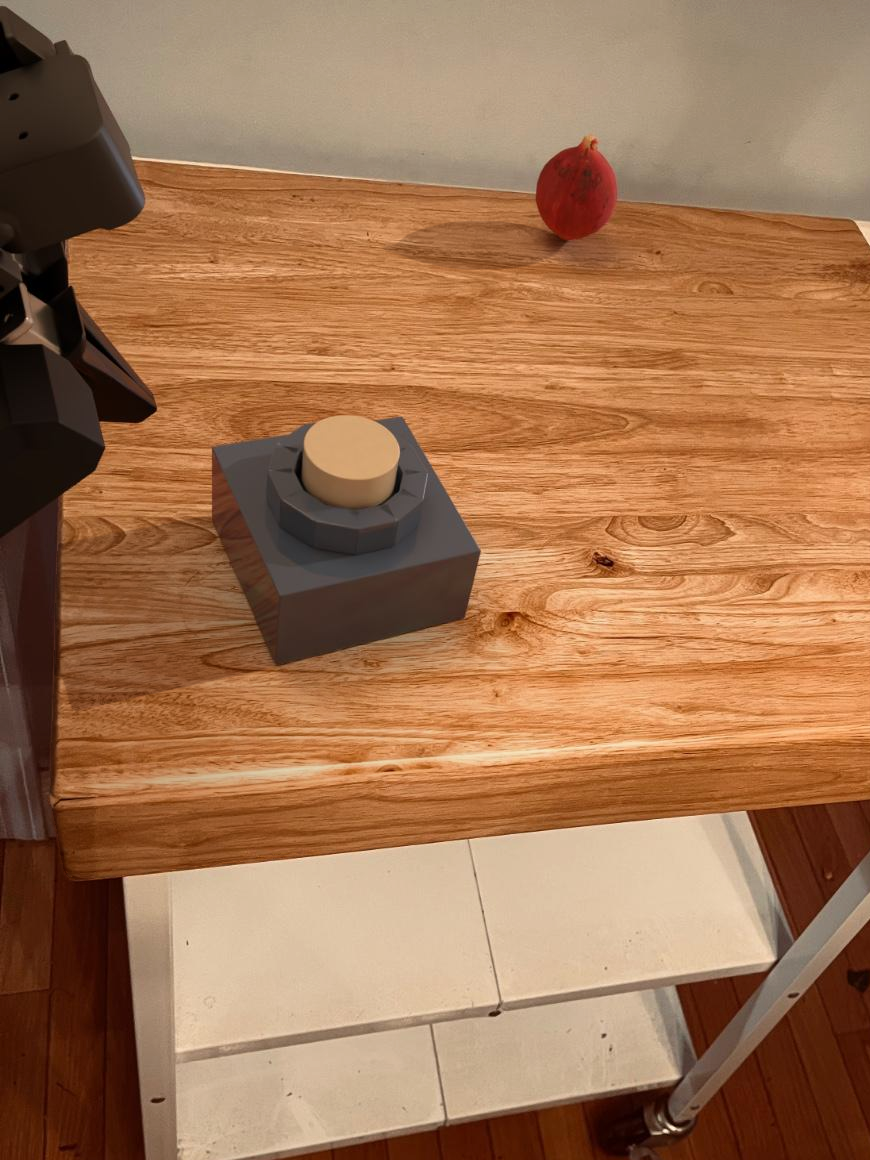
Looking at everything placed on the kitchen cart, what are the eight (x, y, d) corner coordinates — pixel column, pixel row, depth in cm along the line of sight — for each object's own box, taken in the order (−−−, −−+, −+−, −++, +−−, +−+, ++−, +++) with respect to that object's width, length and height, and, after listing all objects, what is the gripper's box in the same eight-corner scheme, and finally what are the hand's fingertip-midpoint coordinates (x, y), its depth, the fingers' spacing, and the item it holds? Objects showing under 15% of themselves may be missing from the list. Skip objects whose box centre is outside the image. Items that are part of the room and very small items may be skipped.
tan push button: (320, 518, 54) (323, 487, 53) (288, 454, 57) (290, 422, 55) (409, 501, 57) (414, 470, 55) (374, 439, 59) (379, 408, 57)
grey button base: (275, 666, 57) (281, 569, 51) (211, 520, 62) (211, 417, 56) (465, 618, 61) (488, 524, 56) (391, 486, 66) (406, 389, 61)
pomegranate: (602, 270, 86) (631, 169, 80) (524, 252, 85) (547, 148, 79) (604, 227, 89) (631, 127, 84) (529, 209, 88) (551, 107, 83)
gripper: (5, 201, 28) (373, 473, 42) (-77, -171, 37) (248, 151, 51) (-314, 453, 31) (133, 635, 44) (-318, 44, 40) (54, 299, 53)
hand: (147, 410), depth 48 cm, fingers closed
